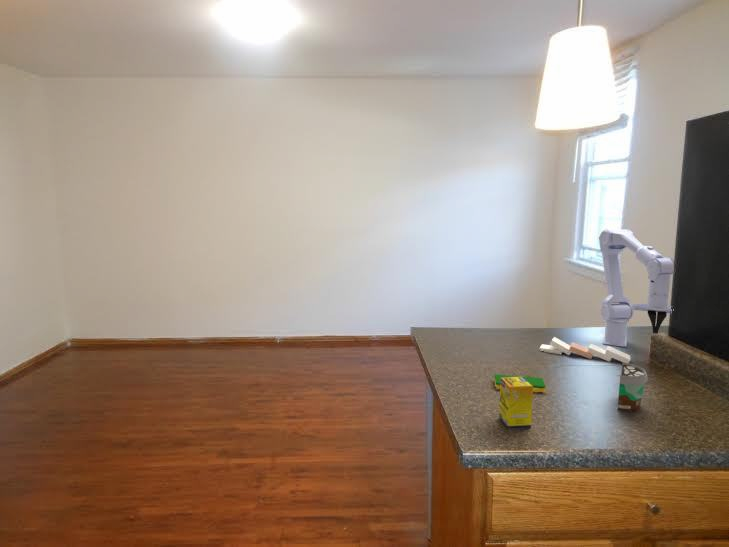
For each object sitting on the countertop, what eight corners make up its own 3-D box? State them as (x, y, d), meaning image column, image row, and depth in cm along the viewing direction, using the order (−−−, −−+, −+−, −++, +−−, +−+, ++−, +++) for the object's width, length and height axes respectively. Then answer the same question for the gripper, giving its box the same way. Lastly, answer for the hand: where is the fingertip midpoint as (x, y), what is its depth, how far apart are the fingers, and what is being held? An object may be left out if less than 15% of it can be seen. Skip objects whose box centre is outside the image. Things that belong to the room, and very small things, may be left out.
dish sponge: (494, 381, 139) (494, 373, 139) (541, 384, 136) (542, 377, 136) (495, 390, 133) (495, 382, 132) (545, 394, 129) (546, 386, 129)
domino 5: (627, 364, 151) (604, 354, 155) (628, 360, 156) (605, 350, 159) (630, 360, 151) (607, 349, 154) (630, 355, 155) (607, 345, 158)
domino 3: (591, 359, 157) (568, 350, 160) (591, 355, 161) (570, 346, 164) (593, 354, 156) (570, 346, 159) (593, 350, 161) (571, 342, 164)
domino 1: (561, 355, 162) (539, 352, 166) (563, 352, 167) (541, 348, 170) (561, 351, 162) (539, 347, 166) (563, 347, 166) (542, 344, 170)
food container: (644, 418, 114) (648, 380, 112) (617, 412, 117) (620, 375, 116) (645, 400, 124) (648, 365, 123) (619, 395, 127) (622, 361, 126)
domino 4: (609, 361, 154) (587, 351, 157) (610, 357, 158) (588, 348, 162) (611, 357, 154) (589, 347, 157) (612, 353, 158) (590, 343, 161)
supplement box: (498, 418, 115) (499, 377, 113) (521, 416, 115) (522, 376, 113) (507, 429, 109) (509, 386, 107) (531, 428, 109) (533, 385, 108)
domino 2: (569, 355, 161) (549, 344, 164) (571, 351, 165) (551, 340, 168) (571, 351, 160) (551, 340, 163) (573, 347, 164) (554, 336, 168)
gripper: (633, 293, 152) (630, 332, 154) (686, 297, 144) (682, 338, 146) (633, 290, 158) (630, 327, 160) (684, 294, 150) (680, 333, 152)
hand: (655, 332), depth 153 cm, fingers closed
